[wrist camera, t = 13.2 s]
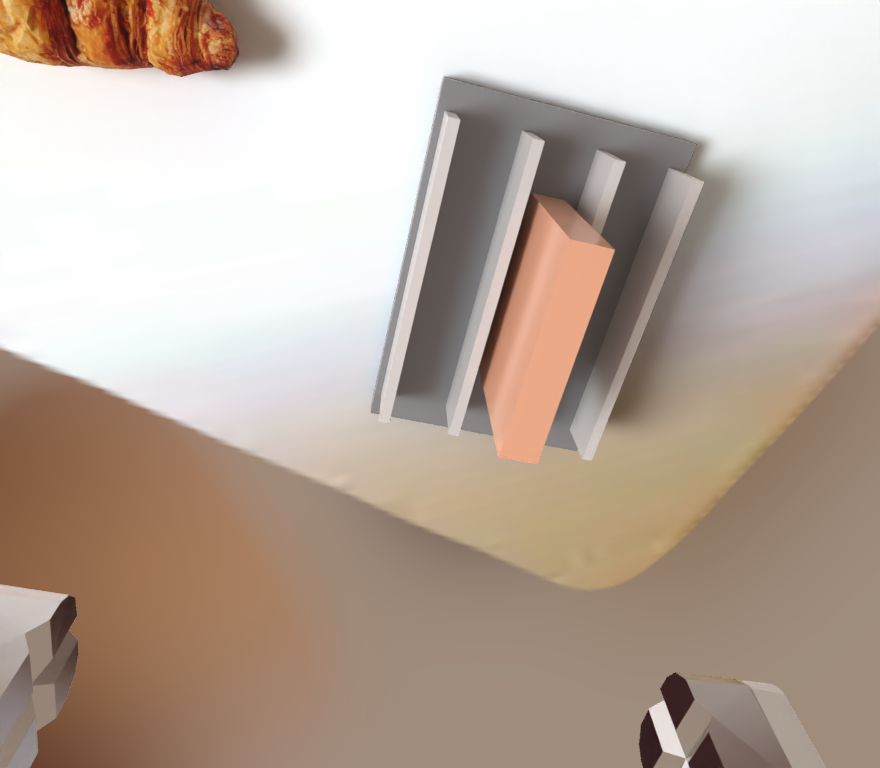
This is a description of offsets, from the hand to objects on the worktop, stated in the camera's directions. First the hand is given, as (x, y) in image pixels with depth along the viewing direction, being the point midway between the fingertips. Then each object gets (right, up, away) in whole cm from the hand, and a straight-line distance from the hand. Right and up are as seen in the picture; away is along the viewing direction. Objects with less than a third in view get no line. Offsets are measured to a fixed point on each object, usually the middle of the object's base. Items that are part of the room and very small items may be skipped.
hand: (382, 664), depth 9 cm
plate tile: (+5, +9, +30) cm, 32 cm away
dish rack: (+5, +10, +31) cm, 33 cm away
